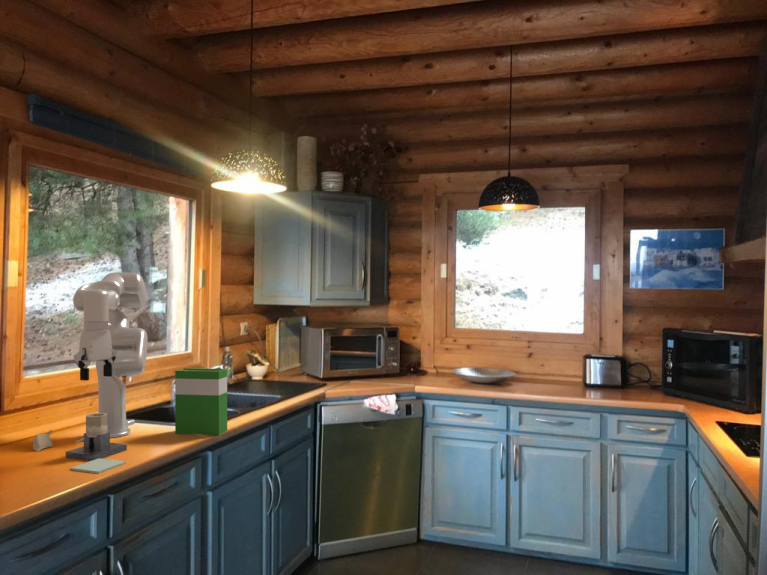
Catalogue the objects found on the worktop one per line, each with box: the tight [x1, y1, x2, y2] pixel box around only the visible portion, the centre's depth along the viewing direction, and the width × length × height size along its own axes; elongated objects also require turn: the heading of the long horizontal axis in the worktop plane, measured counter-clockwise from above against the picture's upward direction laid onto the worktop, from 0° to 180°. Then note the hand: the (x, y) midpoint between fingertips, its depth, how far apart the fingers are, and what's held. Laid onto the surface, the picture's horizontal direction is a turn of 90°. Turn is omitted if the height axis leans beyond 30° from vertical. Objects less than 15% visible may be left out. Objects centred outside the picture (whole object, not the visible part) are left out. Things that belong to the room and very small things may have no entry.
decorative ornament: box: [32, 429, 54, 452], centre depth 207 cm, size 4×8×5 cm, turn 161°
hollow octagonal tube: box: [85, 412, 107, 435], centre depth 199 cm, size 6×6×6 cm
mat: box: [69, 458, 127, 474], centre depth 184 cm, size 11×11×1 cm
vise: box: [65, 432, 128, 462], centre depth 199 cm, size 14×13×12 cm
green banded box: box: [174, 367, 228, 436], centre depth 229 cm, size 18×7×24 cm, turn 81°
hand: (96, 378), depth 199 cm, fingers open, 9 cm apart
